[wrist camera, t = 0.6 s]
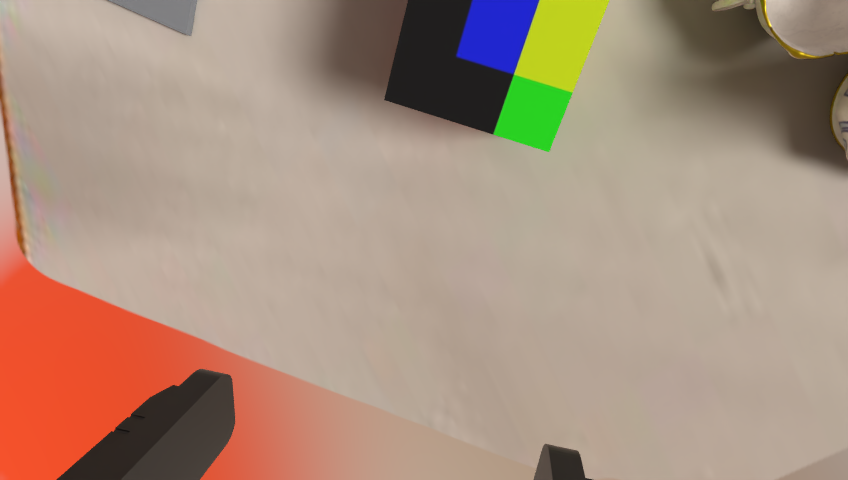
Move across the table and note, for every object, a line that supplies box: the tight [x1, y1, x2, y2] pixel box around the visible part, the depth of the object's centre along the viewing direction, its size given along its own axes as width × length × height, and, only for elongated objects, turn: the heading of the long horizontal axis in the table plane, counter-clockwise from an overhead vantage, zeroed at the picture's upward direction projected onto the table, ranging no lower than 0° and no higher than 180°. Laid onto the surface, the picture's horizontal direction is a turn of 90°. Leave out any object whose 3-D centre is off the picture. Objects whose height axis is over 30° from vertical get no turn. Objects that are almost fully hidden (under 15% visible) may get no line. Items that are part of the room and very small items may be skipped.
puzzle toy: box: [384, 0, 609, 152], centre depth 27 cm, size 10×10×10 cm
